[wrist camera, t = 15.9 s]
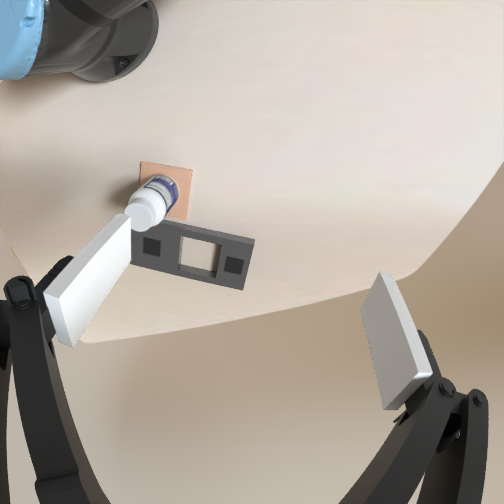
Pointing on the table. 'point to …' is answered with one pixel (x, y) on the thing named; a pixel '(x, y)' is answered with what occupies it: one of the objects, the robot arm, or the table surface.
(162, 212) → the pill bottle
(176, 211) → the coaster
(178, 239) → the holder
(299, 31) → the table surface
